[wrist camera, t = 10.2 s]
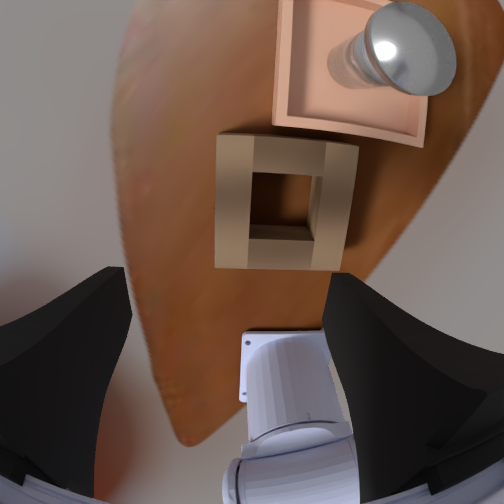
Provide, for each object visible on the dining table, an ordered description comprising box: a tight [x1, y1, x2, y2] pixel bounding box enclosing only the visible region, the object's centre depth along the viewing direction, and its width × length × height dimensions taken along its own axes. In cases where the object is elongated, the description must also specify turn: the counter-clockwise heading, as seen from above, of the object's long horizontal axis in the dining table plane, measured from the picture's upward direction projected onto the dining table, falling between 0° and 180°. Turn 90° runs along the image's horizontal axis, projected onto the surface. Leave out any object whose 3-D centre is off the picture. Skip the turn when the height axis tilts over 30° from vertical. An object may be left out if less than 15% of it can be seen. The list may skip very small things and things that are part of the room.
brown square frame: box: [215, 133, 359, 271], centre depth 18 cm, size 8×8×2 cm
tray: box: [272, 0, 428, 148], centre depth 15 cm, size 10×10×2 cm
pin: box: [327, 1, 456, 96], centre depth 12 cm, size 4×4×8 cm
